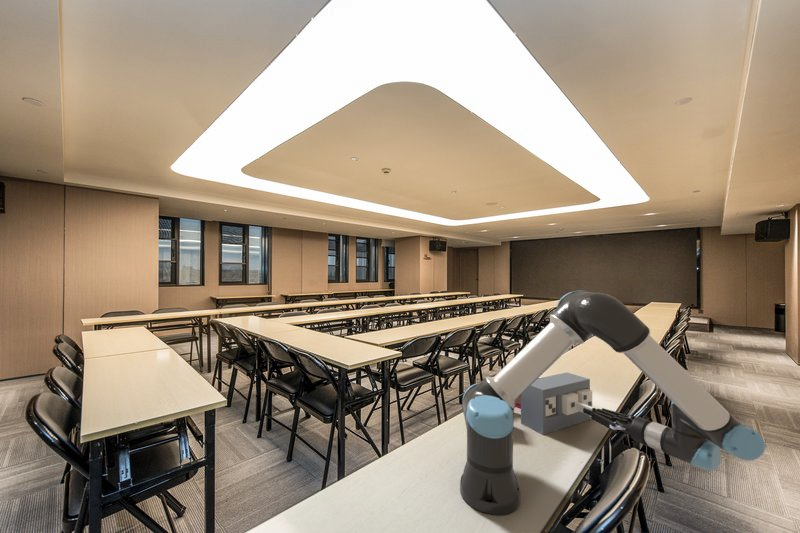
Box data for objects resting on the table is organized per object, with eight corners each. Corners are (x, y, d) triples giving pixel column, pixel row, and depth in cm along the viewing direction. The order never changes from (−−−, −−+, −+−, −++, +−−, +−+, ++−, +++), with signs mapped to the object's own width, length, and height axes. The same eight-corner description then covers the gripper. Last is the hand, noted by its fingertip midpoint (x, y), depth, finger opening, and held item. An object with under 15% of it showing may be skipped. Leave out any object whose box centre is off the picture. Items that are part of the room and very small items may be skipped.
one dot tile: (567, 415, 120) (567, 397, 120) (559, 412, 123) (559, 394, 123) (578, 412, 123) (578, 394, 123) (570, 408, 126) (570, 391, 126)
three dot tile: (544, 417, 118) (544, 399, 118) (537, 413, 121) (537, 396, 121) (556, 413, 121) (556, 396, 121) (548, 410, 124) (548, 393, 124)
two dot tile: (582, 411, 124) (582, 393, 124) (574, 407, 127) (574, 390, 127) (593, 407, 127) (593, 390, 127) (585, 404, 130) (584, 388, 130)
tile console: (543, 434, 117) (543, 390, 117) (520, 423, 125) (520, 381, 126) (590, 419, 130) (589, 379, 130) (567, 410, 139) (566, 372, 139)
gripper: (638, 451, 97) (565, 419, 117) (660, 441, 103) (588, 412, 123) (638, 425, 97) (565, 398, 118) (660, 417, 103) (587, 393, 124)
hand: (577, 406), depth 121 cm, fingers closed
